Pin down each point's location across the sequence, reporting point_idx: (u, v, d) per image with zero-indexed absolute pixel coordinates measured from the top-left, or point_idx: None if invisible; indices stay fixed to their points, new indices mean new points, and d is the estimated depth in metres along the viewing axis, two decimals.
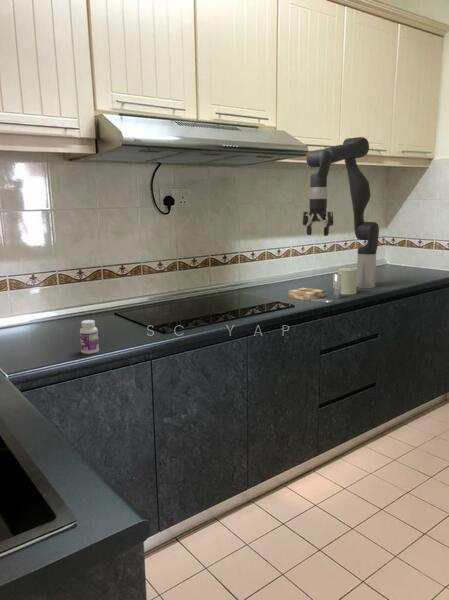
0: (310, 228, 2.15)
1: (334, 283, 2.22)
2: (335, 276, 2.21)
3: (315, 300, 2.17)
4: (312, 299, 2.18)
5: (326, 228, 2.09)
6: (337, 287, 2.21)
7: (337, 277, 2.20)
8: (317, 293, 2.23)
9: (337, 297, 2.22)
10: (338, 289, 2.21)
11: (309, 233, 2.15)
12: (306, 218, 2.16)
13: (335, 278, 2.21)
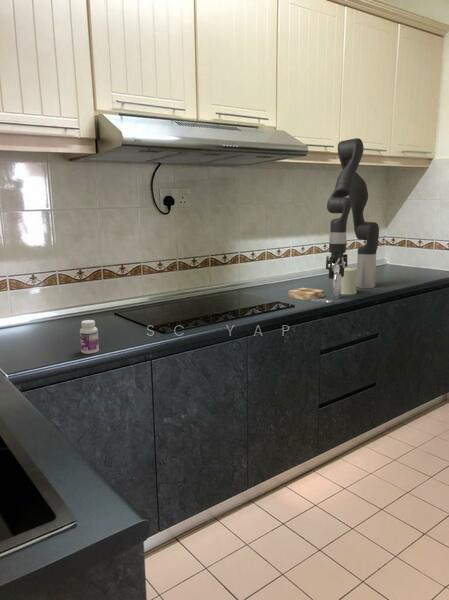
0: None
1: (334, 283, 2.22)
2: (335, 276, 2.21)
3: (315, 300, 2.17)
4: (312, 299, 2.18)
5: (343, 269, 2.24)
6: (337, 287, 2.21)
7: (337, 277, 2.20)
8: (317, 293, 2.23)
9: (337, 297, 2.22)
10: (338, 289, 2.21)
11: None
12: None
13: (335, 278, 2.21)
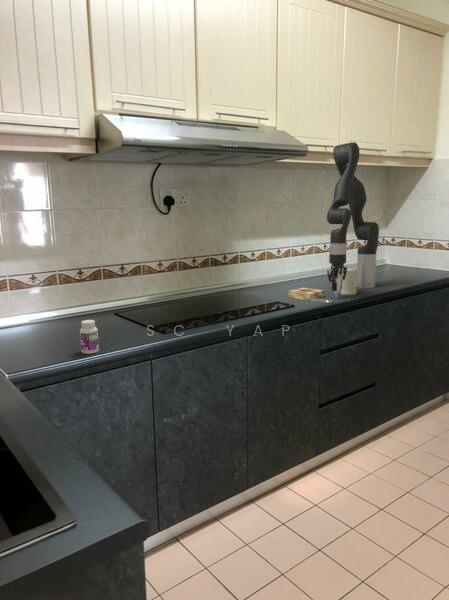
0: None
1: None
2: None
3: (315, 300, 2.17)
4: (312, 299, 2.18)
5: (341, 282, 2.24)
6: (337, 287, 2.21)
7: None
8: (317, 293, 2.23)
9: (337, 297, 2.22)
10: (338, 289, 2.22)
11: None
12: None
13: None
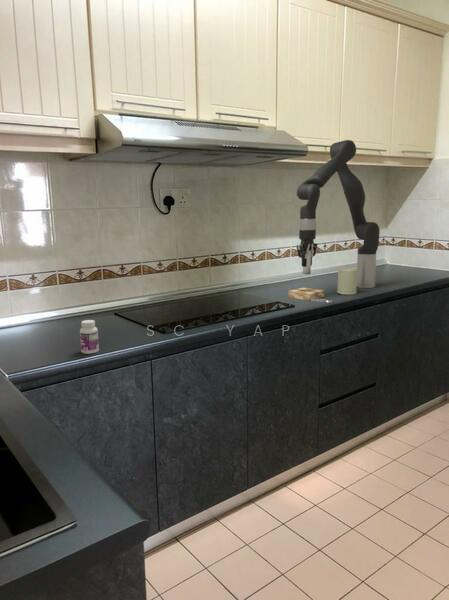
0: None
1: None
2: None
3: (315, 300, 2.17)
4: (312, 299, 2.18)
5: (311, 258, 2.25)
6: (307, 263, 2.23)
7: None
8: (317, 293, 2.23)
9: (307, 273, 2.24)
10: (308, 265, 2.23)
11: None
12: None
13: None
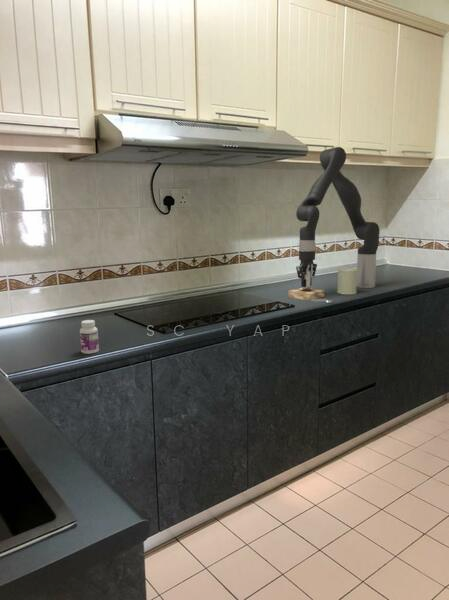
0: None
1: None
2: None
3: (315, 300, 2.17)
4: (312, 299, 2.18)
5: (311, 279, 2.27)
6: (306, 283, 2.24)
7: None
8: (317, 293, 2.23)
9: None
10: (307, 285, 2.25)
11: None
12: None
13: None
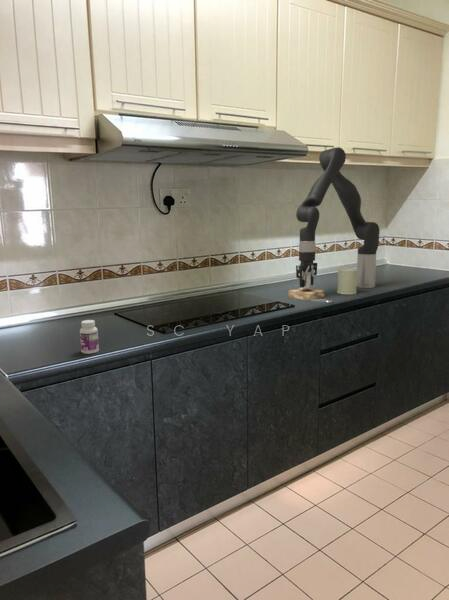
0: None
1: None
2: None
3: (315, 300, 2.17)
4: (312, 299, 2.18)
5: (313, 278, 2.28)
6: (306, 286, 2.25)
7: (306, 277, 2.24)
8: (317, 293, 2.23)
9: None
10: (308, 288, 2.25)
11: None
12: None
13: None
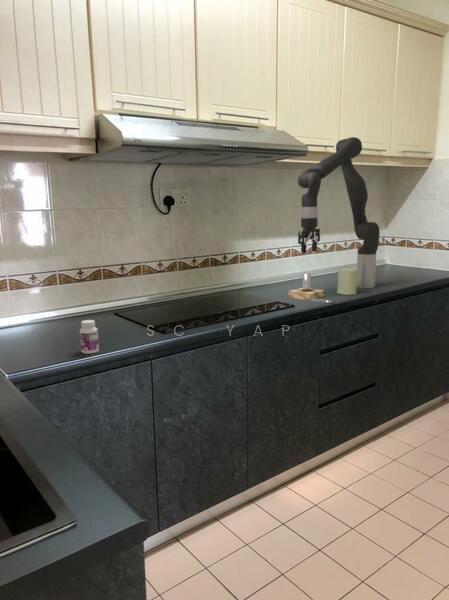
0: None
1: (304, 282, 2.25)
2: (304, 275, 2.24)
3: (315, 300, 2.17)
4: (312, 299, 2.18)
5: (316, 244, 2.27)
6: (306, 286, 2.25)
7: (306, 277, 2.24)
8: (317, 293, 2.23)
9: None
10: (308, 288, 2.25)
11: None
12: None
13: (304, 277, 2.24)
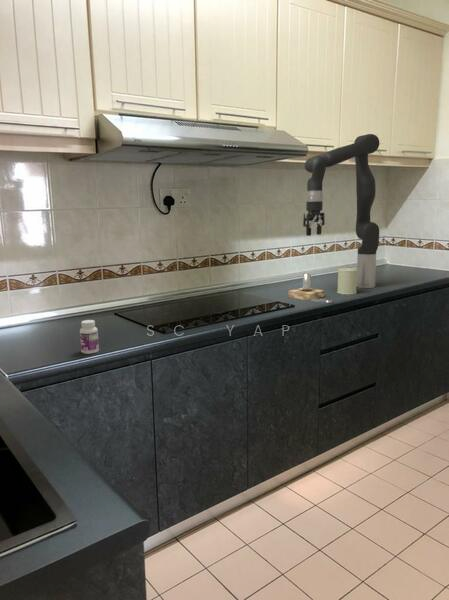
0: None
1: (304, 282, 2.25)
2: (304, 275, 2.24)
3: (315, 300, 2.17)
4: (312, 299, 2.18)
5: (321, 227, 2.35)
6: (306, 286, 2.25)
7: (306, 277, 2.24)
8: (317, 293, 2.23)
9: None
10: (308, 288, 2.25)
11: None
12: None
13: (304, 277, 2.24)
